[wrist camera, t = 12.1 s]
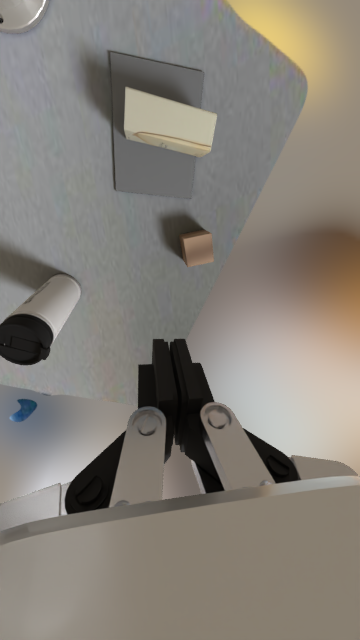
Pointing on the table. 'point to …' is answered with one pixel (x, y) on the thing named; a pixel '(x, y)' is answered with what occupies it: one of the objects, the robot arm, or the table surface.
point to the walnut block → (197, 247)
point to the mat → (143, 159)
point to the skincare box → (168, 123)
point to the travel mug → (38, 321)
